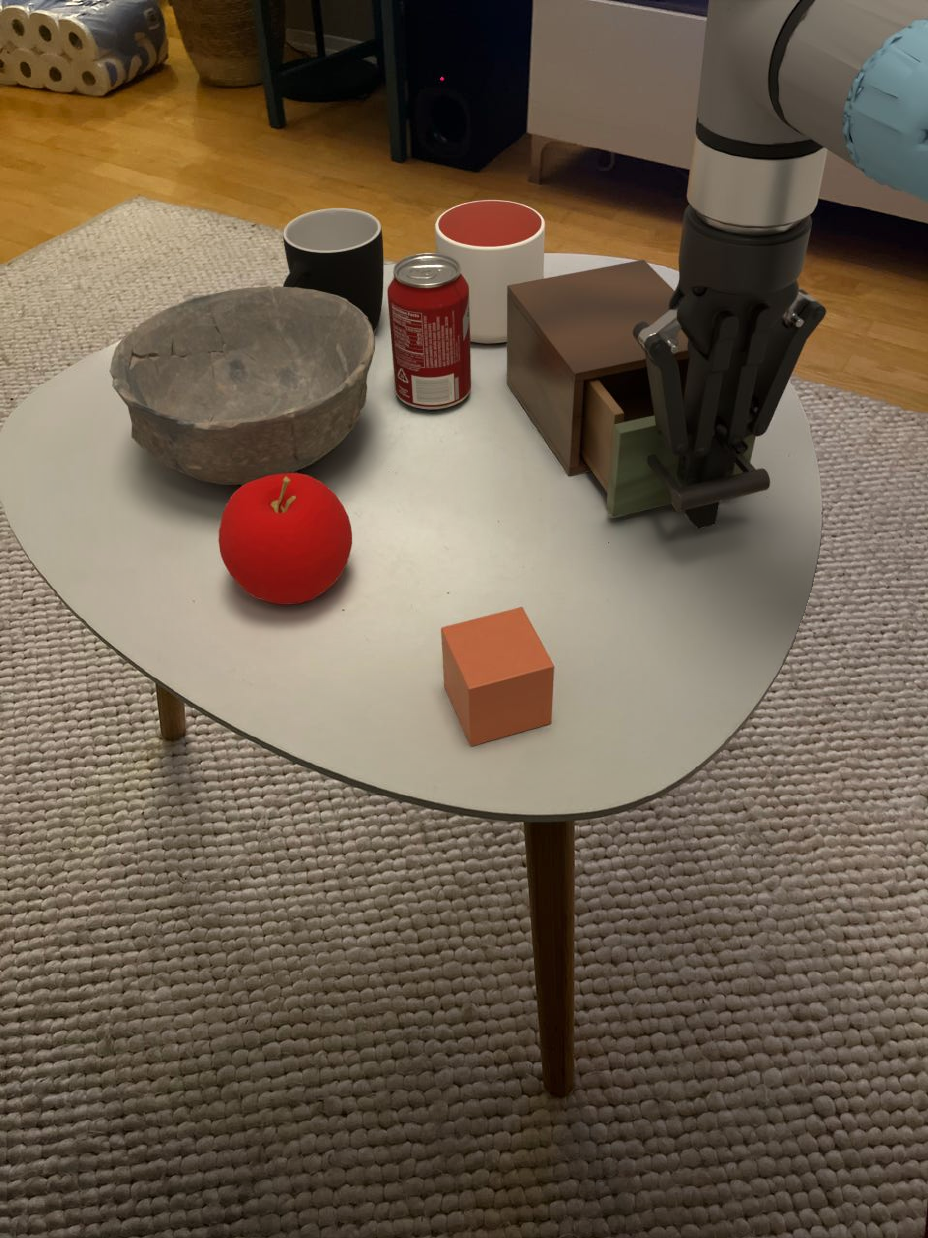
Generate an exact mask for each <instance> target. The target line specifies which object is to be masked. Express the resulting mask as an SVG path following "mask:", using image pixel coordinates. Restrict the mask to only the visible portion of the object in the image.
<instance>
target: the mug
mask: <svg viewBox="0 0 928 1238" xmlns="http://www.w3.org/2000/svg"><path fill="white" fill-rule="evenodd" d="M282 239H283V247H284V252H285V257H286V262H287V268H288V271H289V273H288V275H287V276H286V278H285V280H284V282H283V285H282V287H292V288H294V287H297V288H302V289H312V290H317V291H321V292H325V293H329V294H333V295H337V296H340V297H342V298H345V299H347V300H348V302H350V303H351V304H353V305H354V306H356V307H357V308H358V309H360V310H361V311H362V312H363V313H364V314H365V315H366V316H367V317H368V321H369V322H370V324H371V325H372V329H373V333H375V332H376V330H377V328H378V327H379V323H380V319H381V315H382V308H383V299H384V298H383V297H384V273H385V272H384V271H385V267H384V238H383V230H382V224H381V222H380V221H379V220H378V218H377V217H375V216H374V215H372V214H371V213H368V212H367V211H363V210H359V209H355V208H347V207H331V208H323V209H317V210H313V211H309V212H306V213H303V214H300V215H298V216H297V217H295V218H293V219H292V220H290V221H289V222H288V223H287V225H285V227H284V228H283V233H282Z"/></svg>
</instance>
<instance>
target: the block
mask: <svg viewBox="0 0 928 1238" xmlns="http://www.w3.org/2000/svg"><path fill="white" fill-rule="evenodd" d="M440 635H441V636H440V638H441V655H442V656H441V657H442V670H443V671H442V672H443V686H444V688H445V691H446V692H447V696H448V697H449V700H450V702H451V704H452V707H453V709H454V711H455V714H456V717H457V718H458V721H459V723H460V725H461V728H462V730H463V732H464V734H465V737H466V739H467V741H468V744H469V746H470V747H473V746H476V745H477V746H478V745H479V744H483V743H487V742H491V741H495V740H498V739H502V738H505V737H509V736H512V735H516V734H520V733H522V732H527V731H531V730H533V729H537V728H540V727H545V726H548V725H551V724H552V721H553V720H552V719H553V699H554V681H555V665H554V663H553V661H552V659H551V656H549V653H548V652H547V649H546V648H545V646H544V644H543V643H542V641H541V639H540V636H539V635H538V633H537V631H536V629H535V627H534V625H533V624H532V622H531V620H530V619H529V617H528V615H527V613H526V611H525V609H524V607H522V606H520V607H516V608H512V609H508V610H504V611H500V612H496V613H492V614H489V615H484V616H481V617H475V618H473V619H468V620H465V621H460V622H458V623H454V624H449V625H446V626H442V627H440Z"/></svg>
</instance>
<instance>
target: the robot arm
mask: <svg viewBox="0 0 928 1238" xmlns="http://www.w3.org/2000/svg"><path fill="white" fill-rule="evenodd" d="M695 117H696V121H695V128H694V135H693V142H692V143H693V144H692V150H691V151H692V152H691V158H690V166H689V174H688V184H687V190H686V200H687V202H688V203H689V204H688V205H687V206H686V207H685V209H684V211H683V212H684V213H683V217H682V218H683V220H682V227H681V235H680V241H679V242H680V243H679V252H678V283H677V284H676V285H677V286H676V288H675V289H674V293H673V294H672V296H671V298H670V301H669V311H668V312H667V313H665V314H664V315H663V316H662V317H660V318H659V319H658V320H657V321H655V322H654V323H653V324H652V325H649V324H648V323H647V322H640V323H638V324H637V325H636V326H635V327H634V329H633V336H634V337H635V339H636V340H637V342H638V343H639V345H640V346H641V348H642V349H643V351H644V352H645V357H646V364H647V371H648V377H649V384H650V390H651V397H652V404H653V410H654V417H655V423H656V430H657V434H658V436H659V437H660V438H661V439H662V440H663V442H664V443H665V444H666V445H667V447H668V448H669V449H670V450H671V452H672V453H673V454H674V455H680V456H679V464H678V470H677V477H678V480H679V481H680V482H681V484H682V485H683V486H684V487H685V486H690V485H694V484H698V483H702V482H706V481H710V480H715V479H719V478H723V477H727V476H731V475H733V471H734V466H735V460H736V455H737V456H739V455H742V454H744V453H745V452H746V451H747V450H748V448H749V446H748V445H747V444H746V443H745V442H744V439H745V438H747V437H748V436H750V435H752V434H753V435H754V436H756V437H761V436H763V435H764V434H765V433H766V432H767V430H768V429H769V427H770V424H771V422H772V420H773V417H774V415H775V413H776V410H777V408H778V406H779V404H780V401H781V399H782V398H783V397H782V396H783V395H784V393H785V390H786V388H787V385H788V384H789V381H790V379H791V377H792V374H793V372H794V370H795V368H796V366H797V363H798V361H799V358H800V356H801V353H802V351H803V349H804V347H805V345H806V343H807V341H808V339H809V338H810V336H811V335H812V334H813V332H815V330H816V328H817V327H818V326H819V325H820V323H821V322H822V321H823V320H824V318H825V316H826V314H827V309H826V308H825V306H824V305H823V304H822V303H820V302H819V301H818V300H817V299H816V298H814V297H813V296H812V295H811V294H809V292H807V291H806V290H805V289H800V283H799V281H798V278H799V277H800V276H801V274H802V271H803V269H804V263H805V259H806V254H807V250H808V245H809V240H810V235H811V230H812V226H813V219H812V216H811V214H812V213H813V212H814V211H815V209H816V207H817V205H818V201H819V198H820V197H819V196H820V191H821V186H822V180H823V176H824V170H825V166H826V161H827V156H828V151H829V152H831V153H832V154H834V155H836V156H837V157H839V158H841V159H842V160H844V162H847V163H848V164H850V165H852V166H853V167H854V168H856V169H858V170H859V171H861V172H863V173H864V175H865V177H867V178H869V179H870V180H873V181H874V182H875V183H877V184H879V185H880V186H888V187H889V188H891V189H892V190H893V191H898V192H904V193H905V194H908V195H910V196H912V197H914V198H916V199H918V200H920V201H923V202H924V203H925V202H926V203H928V0H708V5H707V14H706V23H705V32H704V40H703V51H702V60H701V68H700V78H699V89H698V98H697V107H696V115H695ZM680 329H682V331H683V332H684V334H685V335H686V337H687V338H688V345H687V349H688V353H689V356H690V359H689V366H688V373H687V380H686V387H685V394H684V401H683V398H682V390H681V382H680V374H679V368H678V363H677V361H676V358H675V356H674V354H675V353H677V352H678V350H679V347H678V346H677V345H678V339H677V334H678V332H679V330H680ZM756 408H757V410H756V411H755V409H756ZM713 430H714V432H715V433H714V436H713ZM719 508H720V502H716V503H712V504H708V505H704V506H699V507H695V508H691V509H687V510H683V511H682V512H683V513H684V514H685V515H686V516H687V518H688V519H689V521H690V522H691V523H692V524H693V526H694V527H695V528H696V529H697V530H701V529H704V528H708V527H712V526H715V525H716V523H717V518H718V512H719Z"/></svg>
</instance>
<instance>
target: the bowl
mask: <svg viewBox="0 0 928 1238" xmlns="http://www.w3.org/2000/svg"><path fill="white" fill-rule="evenodd" d="M374 333H375V332H374ZM374 333H373V329H372V325H371V324H370V322H369V321H368V317H367V316H366V315H365V314H364V313H363V312H362V311H361V310H360V309H358V308H357V307H356V306H354V305H353V304H351V303H350V302H348V300H347V299H345V298H342V297H340V296H337V295H333V294H329V293H325V292H321V291H317V290H312V289H302V288H297V287H294V288H292V287H283V285H282V286H280V285H276V286H274V287H271V285H268V286H267V285H265V286H258V287H244V288H243V287H242V288H238V289H231V290H225V291H220V292H214V293H207V294H203V295H202V294H201V295H199V296H194V297H191V298H188V299H186V300H184V301H181V302H179V303H178V304H175V305H173V306H170V307H167V308H165V309H164V310H161V311H160V312H158V313H156V314H154V315H152V316H150V317H149V318H147V319H146V320H144V321H143V322H142V323H140V324H139V325H137V327H135V328H134V329H132V330H131V331H129V332H128V333H126V334H125V335H123V337H122V338H121V340H120V341H119V343H118V344H117V345H116V347H115V349H114V352H113V355H112V358H111V363H110V368H109V373H110V376H111V378H112V384H111V385H112V387H113V389H114V391H115V392H116V393H117V395H118V396H119V397H120V399H121V400H122V401H123V403H124V404H125V405H126V406H127V409H128V410H127V411H128V413H129V418H130V422H131V439H133V441H134V442H135V443H137V445H138V446H139V447H140V448H142V449H144V450H146V451H147V452H148V453H149V454H150V455H152V456H153V457H154V458H155V459H157V460H158V461H159V462H161V463H162V464H164V466H166V467H168V468H170V469H173V470H175V471H177V472H180V473H182V474H183V475H186V476H190V477H192V478H194V479H196V480H198V481H201V482H206V483H211V484H216V485H222V486H239V485H240V486H243V485H244V484H246V483H248V482H251V481H254V480H257V479H260V478H263V477H266V476H270V475H276V474H283V473H296V472H297V471H300V470H302V469H305V468H306V467H309V466H310V465H313V464H314V463H315V462H317V461H319V460H320V459H321V458H323V457H324V456H326V455H327V454H329V452H330V451H332V450H334V449H335V448H336V447H337V446H339V444H340V443H341V442H342V441H343V440H345V439H346V437H347V436H348V434H349V433H350V431H351V430H353V429H354V428H355V426H356V424H357V422H359V419H360V415H361V411H362V410H363V409H364V407H365V404H366V400H367V393H368V384H367V382H368V381H367V380H368V375H369V374H368V373H369V371H370V368H371V366H372V361H373V358H374V355H375V350H376V336H375V334H374Z"/></svg>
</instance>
